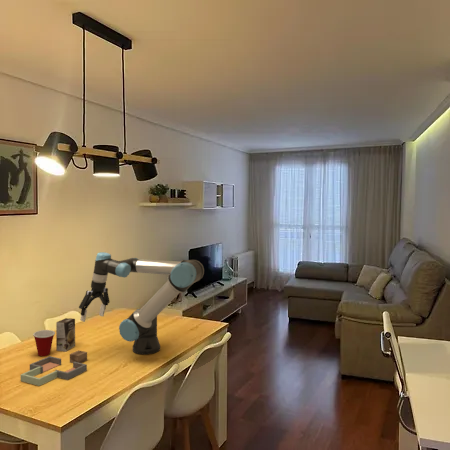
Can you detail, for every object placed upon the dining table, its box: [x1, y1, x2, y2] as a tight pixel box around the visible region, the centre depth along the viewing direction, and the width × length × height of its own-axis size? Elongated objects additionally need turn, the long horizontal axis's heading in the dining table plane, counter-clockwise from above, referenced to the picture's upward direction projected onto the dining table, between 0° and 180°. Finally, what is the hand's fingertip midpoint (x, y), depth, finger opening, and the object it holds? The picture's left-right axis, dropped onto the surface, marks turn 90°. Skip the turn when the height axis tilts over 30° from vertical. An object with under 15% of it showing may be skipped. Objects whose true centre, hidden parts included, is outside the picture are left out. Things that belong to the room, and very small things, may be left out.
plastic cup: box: [32, 329, 56, 357], centre depth 213 cm, size 11×11×12 cm
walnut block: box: [69, 349, 88, 364], centre depth 205 cm, size 6×6×4 cm
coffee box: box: [55, 317, 76, 352], centre depth 223 cm, size 9×6×16 cm
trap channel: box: [20, 355, 88, 387], centre depth 188 cm, size 25×22×3 cm
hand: (92, 318), depth 216 cm, fingers open, 13 cm apart
